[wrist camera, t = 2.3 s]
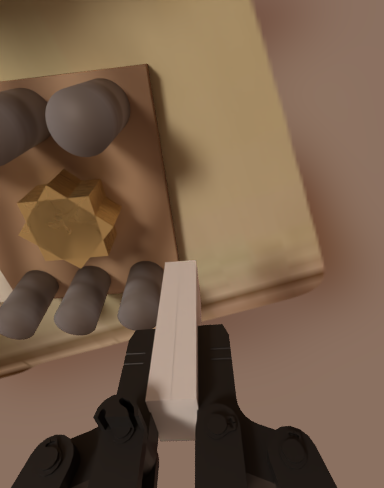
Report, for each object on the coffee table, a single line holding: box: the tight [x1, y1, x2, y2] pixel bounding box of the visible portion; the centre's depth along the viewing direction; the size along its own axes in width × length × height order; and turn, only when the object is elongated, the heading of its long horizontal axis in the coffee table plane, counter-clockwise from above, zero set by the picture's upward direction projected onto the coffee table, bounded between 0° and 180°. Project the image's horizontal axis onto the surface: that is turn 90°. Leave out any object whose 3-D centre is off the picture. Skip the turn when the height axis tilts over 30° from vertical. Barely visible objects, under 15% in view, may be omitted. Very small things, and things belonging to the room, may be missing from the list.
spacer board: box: [0, 64, 179, 340], centre depth 21 cm, size 22×18×6 cm
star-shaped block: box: [17, 169, 122, 269], centre depth 21 cm, size 7×7×3 cm
